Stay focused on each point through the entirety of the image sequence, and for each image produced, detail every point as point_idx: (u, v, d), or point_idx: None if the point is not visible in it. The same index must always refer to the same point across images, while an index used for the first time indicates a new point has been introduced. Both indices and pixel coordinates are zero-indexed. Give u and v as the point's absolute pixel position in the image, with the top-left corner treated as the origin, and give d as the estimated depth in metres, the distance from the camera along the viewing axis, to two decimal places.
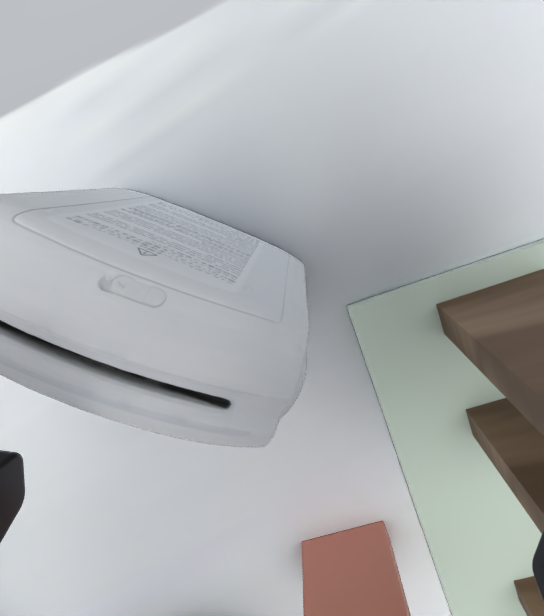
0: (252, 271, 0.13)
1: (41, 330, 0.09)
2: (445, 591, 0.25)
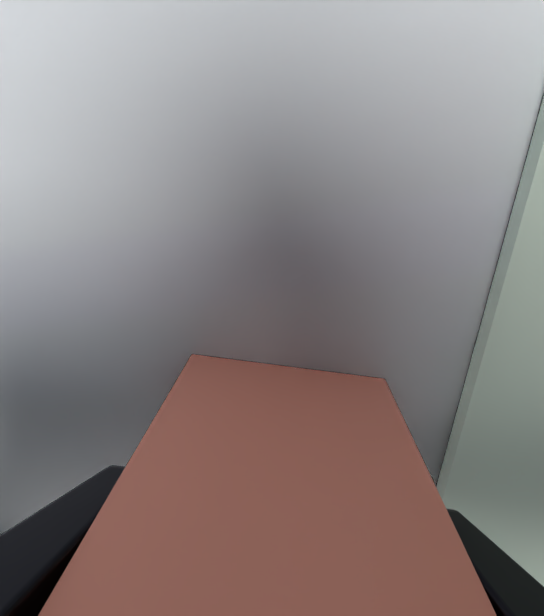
0: None
1: None
2: None
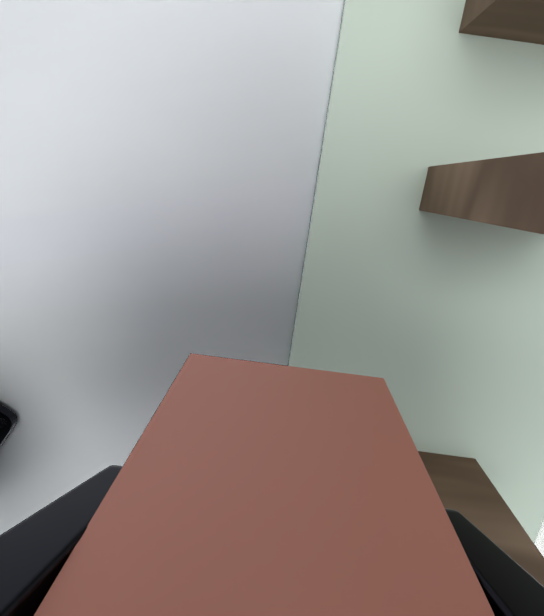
0: None
1: None
2: None
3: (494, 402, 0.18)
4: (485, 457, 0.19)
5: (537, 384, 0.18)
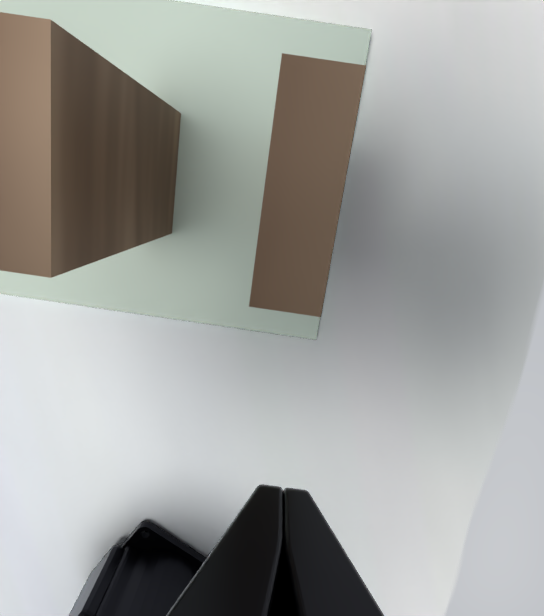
0: None
1: None
2: (124, 310, 0.20)
3: None
4: None
5: None
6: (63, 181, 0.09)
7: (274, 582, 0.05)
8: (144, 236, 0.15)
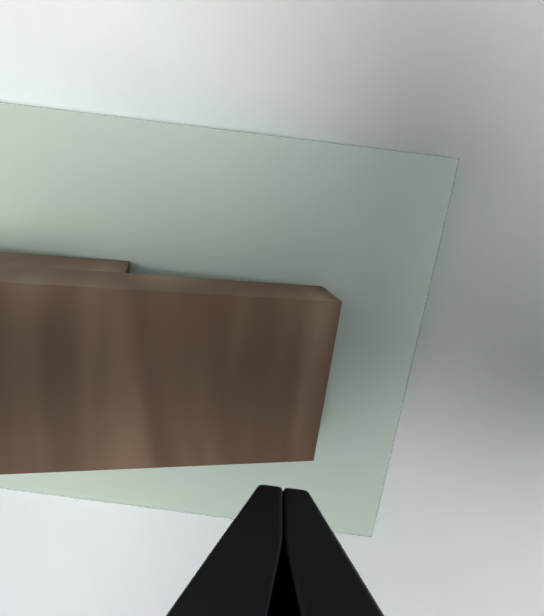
0: None
1: None
2: (120, 502, 0.15)
3: (43, 248, 0.13)
4: (133, 247, 0.13)
5: (4, 191, 0.12)
6: None
7: (274, 582, 0.05)
8: None
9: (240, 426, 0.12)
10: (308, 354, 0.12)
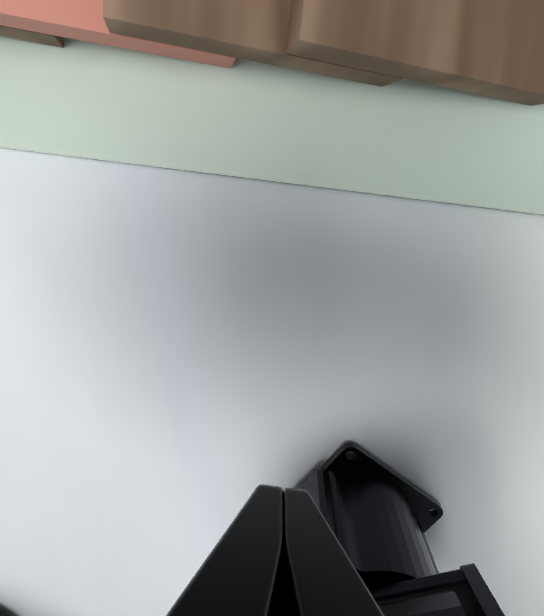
0: None
1: None
2: (361, 190, 0.18)
3: None
4: None
5: None
6: None
7: (274, 582, 0.05)
8: None
9: (523, 46, 0.14)
10: None
